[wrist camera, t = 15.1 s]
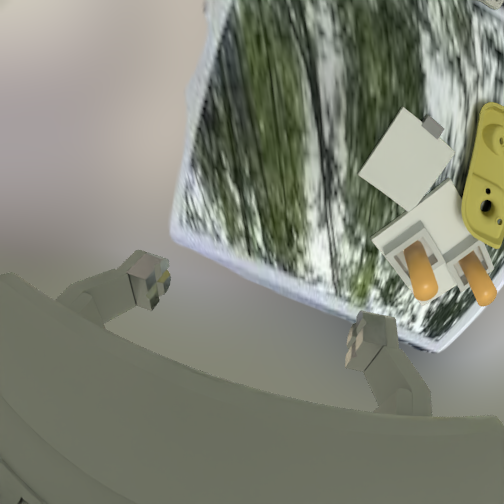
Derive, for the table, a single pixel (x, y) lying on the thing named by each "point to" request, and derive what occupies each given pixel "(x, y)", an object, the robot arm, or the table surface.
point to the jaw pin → (420, 272)
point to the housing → (440, 245)
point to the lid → (407, 159)
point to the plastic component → (486, 178)
